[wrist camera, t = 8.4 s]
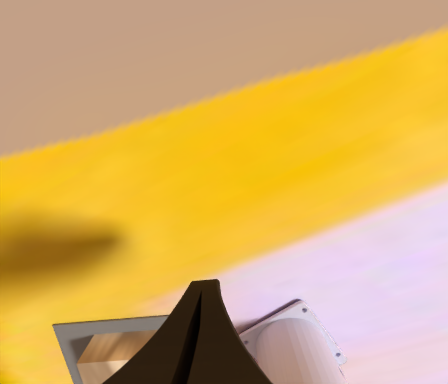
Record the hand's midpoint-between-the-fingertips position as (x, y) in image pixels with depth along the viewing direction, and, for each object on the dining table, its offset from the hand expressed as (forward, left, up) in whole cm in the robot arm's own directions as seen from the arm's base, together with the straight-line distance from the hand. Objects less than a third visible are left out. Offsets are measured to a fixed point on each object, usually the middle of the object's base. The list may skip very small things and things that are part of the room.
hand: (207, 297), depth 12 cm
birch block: (-6, +20, -9) cm, 22 cm away
